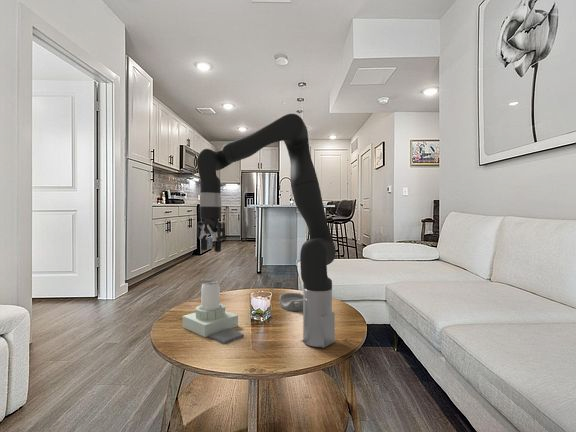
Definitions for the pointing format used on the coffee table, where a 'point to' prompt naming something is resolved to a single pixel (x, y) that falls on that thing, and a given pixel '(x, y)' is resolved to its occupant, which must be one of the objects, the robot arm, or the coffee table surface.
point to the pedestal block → (210, 321)
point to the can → (210, 295)
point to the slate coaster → (226, 335)
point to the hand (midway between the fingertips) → (210, 250)
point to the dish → (291, 301)
